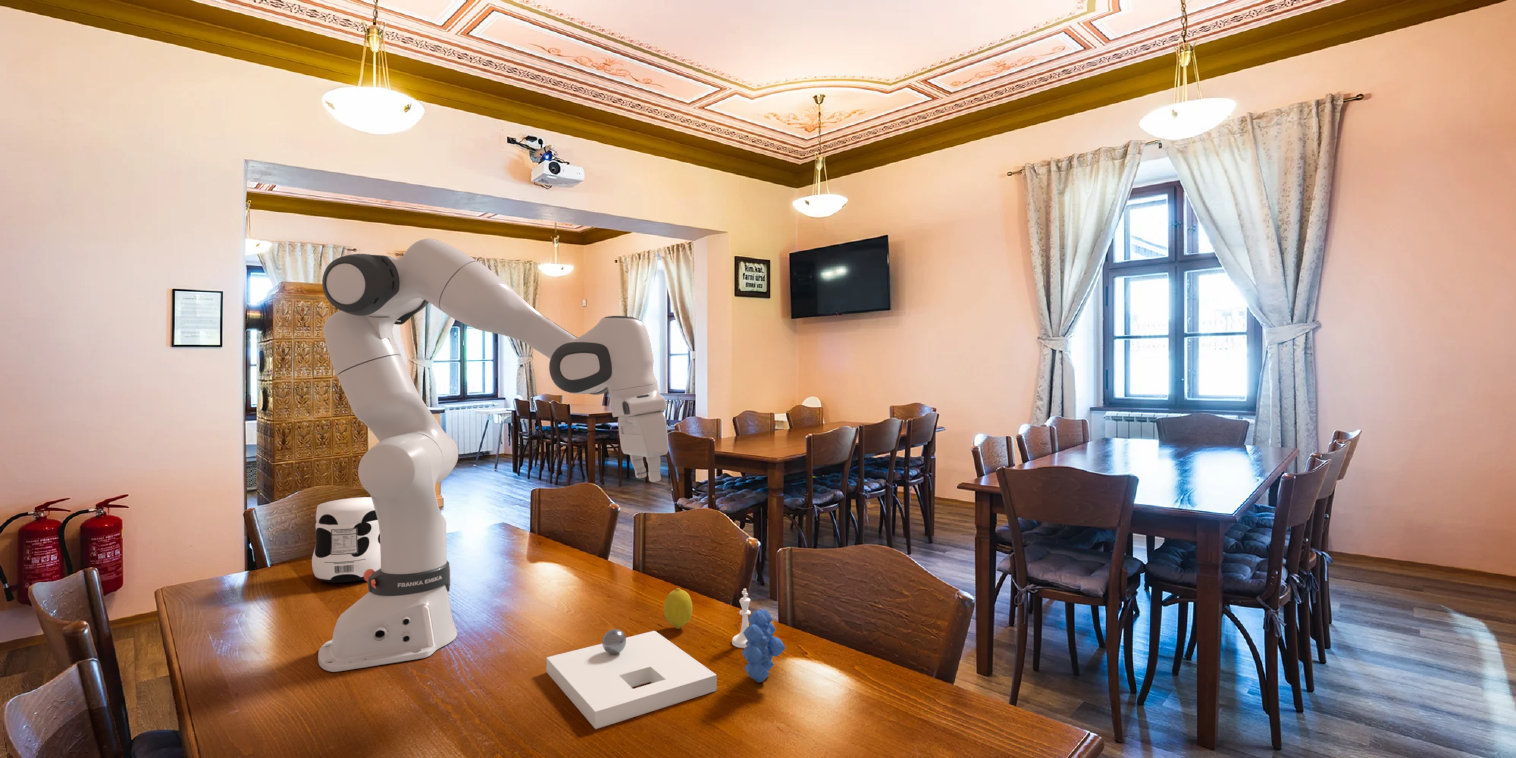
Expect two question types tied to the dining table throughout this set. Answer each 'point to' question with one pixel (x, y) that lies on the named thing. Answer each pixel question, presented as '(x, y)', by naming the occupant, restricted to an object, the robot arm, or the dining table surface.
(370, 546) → the milk container
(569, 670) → the hole board
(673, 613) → the lemon
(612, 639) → the steel ball
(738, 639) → the chess piece
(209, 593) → the dining table surface
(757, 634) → the grapes
